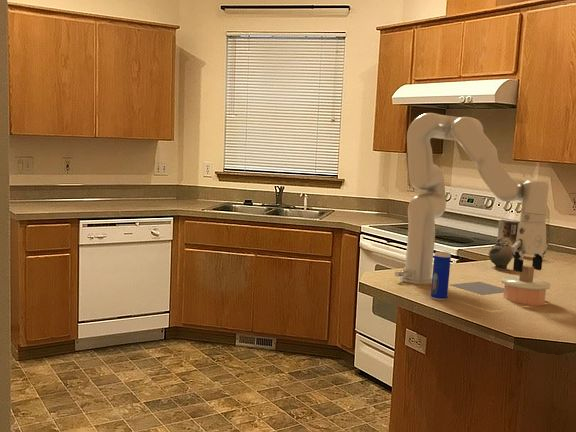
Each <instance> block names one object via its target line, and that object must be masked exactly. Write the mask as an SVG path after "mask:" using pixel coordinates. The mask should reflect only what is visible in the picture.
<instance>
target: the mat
mask: <svg viewBox="0 0 576 432" xmlns="http://www.w3.org/2000/svg"><path fill="white" fill-rule="evenodd" d="M450 286H451V287H455V288H458V289H462V290H465V291H468V292H472V293H474V294H477V295H482V296H485V295H492V294H493V295H494V294H495V295H496V294H501V293H502V294H504V287H500V286H498V285H494V284H489V283H486V282H482V281H471V282H463V283H454V284H453V283H452V284H450Z"/></svg>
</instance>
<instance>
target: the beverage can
mask: <svg viewBox="0 0 576 432" xmlns="http://www.w3.org/2000/svg"><path fill="white" fill-rule="evenodd" d="M451 259H452V256H451V252H448V251H435V252H434V254H433V264H432V275H431V277H432V284H431V288H430V289H431V291H430V298H431V299H433V300H436V301H446V300H447V299H448V292H449V281H450V269H451Z"/></svg>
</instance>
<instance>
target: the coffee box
mask: <svg viewBox="0 0 576 432" xmlns="http://www.w3.org/2000/svg"><path fill="white" fill-rule="evenodd" d="M519 224H520V220H519V221H516V220H508V219H501V220H498V229H497V231H498V232H497V240H496V243H499V242H500V241H501V239H502V242H507V243H508V242H509V244H510V245H513V244H515V243H516V237H517V232H518V227H519Z"/></svg>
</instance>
